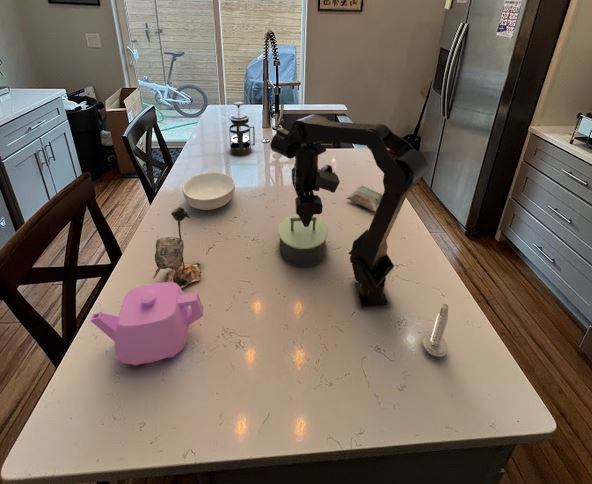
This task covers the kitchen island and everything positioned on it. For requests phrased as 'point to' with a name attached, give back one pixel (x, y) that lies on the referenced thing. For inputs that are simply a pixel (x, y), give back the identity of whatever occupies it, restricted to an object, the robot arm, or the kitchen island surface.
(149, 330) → the teapot
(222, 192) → the cereal bowl
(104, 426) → the kitchen island surface
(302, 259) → the container
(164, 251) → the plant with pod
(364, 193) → the packaged food
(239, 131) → the french press
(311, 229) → the lid
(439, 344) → the screw
